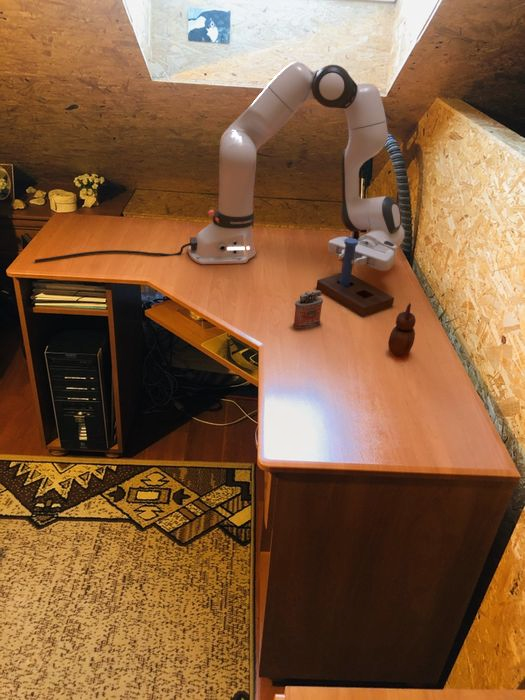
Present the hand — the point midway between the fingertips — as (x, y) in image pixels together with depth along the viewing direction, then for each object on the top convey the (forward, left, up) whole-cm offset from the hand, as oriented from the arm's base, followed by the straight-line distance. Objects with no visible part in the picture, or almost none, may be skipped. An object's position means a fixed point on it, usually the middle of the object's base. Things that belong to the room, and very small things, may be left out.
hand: (346, 260), depth 166 cm
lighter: (-19, -14, -11) cm, 26 cm away
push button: (+22, +33, -11) cm, 41 cm away
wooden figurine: (-2, -33, -11) cm, 35 cm away
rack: (+2, -3, -11) cm, 11 cm away
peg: (+1, 0, -8) cm, 8 cm away
